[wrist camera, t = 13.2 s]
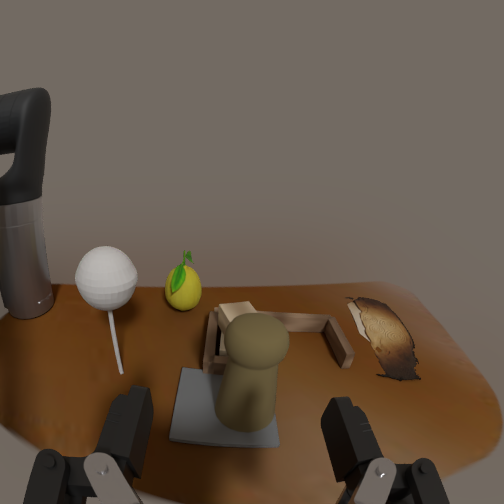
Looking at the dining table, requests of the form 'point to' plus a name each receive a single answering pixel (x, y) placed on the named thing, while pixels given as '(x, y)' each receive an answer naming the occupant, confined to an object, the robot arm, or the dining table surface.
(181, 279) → the lemon
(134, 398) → the robot arm
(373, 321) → the parchment
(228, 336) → the cork
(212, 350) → the frame
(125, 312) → the dining table surface
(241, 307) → the offcut upper
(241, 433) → the pad
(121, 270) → the lollipop
